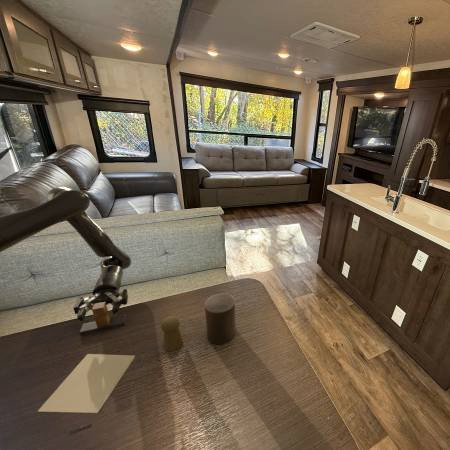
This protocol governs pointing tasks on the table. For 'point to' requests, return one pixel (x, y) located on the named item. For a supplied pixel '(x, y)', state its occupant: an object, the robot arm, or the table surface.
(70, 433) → the mark
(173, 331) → the cork
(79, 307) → the robot arm
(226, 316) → the pillar candle
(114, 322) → the wooden handled grey block
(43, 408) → the memo board
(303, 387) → the table surface
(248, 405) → the table surface
